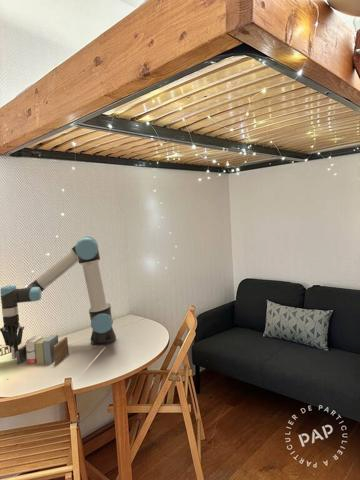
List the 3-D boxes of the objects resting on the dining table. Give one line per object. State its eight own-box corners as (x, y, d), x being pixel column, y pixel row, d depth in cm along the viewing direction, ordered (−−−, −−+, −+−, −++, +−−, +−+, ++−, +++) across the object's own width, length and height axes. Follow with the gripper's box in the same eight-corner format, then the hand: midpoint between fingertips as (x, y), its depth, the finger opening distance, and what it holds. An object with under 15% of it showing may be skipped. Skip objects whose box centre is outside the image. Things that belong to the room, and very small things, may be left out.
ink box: (35, 364, 171) (33, 341, 171) (26, 364, 172) (24, 341, 171) (44, 356, 180) (42, 335, 179) (36, 357, 181) (34, 335, 180)
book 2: (59, 356, 179) (57, 334, 178) (51, 363, 170) (49, 341, 169) (53, 356, 180) (51, 335, 179) (44, 363, 171) (42, 341, 170)
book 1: (52, 356, 179) (50, 337, 178) (44, 363, 171) (42, 343, 170) (45, 357, 180) (43, 337, 179) (36, 363, 171) (34, 343, 171)
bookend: (30, 356, 181) (28, 344, 181) (20, 364, 172) (18, 350, 172) (27, 356, 181) (26, 344, 181) (17, 364, 173) (16, 351, 172)
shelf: (68, 356, 181) (67, 337, 180) (57, 367, 168) (55, 346, 168) (29, 357, 184) (27, 337, 183) (15, 367, 171) (13, 347, 170)
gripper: (26, 312, 179) (30, 354, 180) (3, 313, 181) (8, 355, 182) (17, 316, 171) (22, 360, 173) (-6, 317, 173) (-1, 361, 175)
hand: (14, 357), depth 177 cm, fingers closed
